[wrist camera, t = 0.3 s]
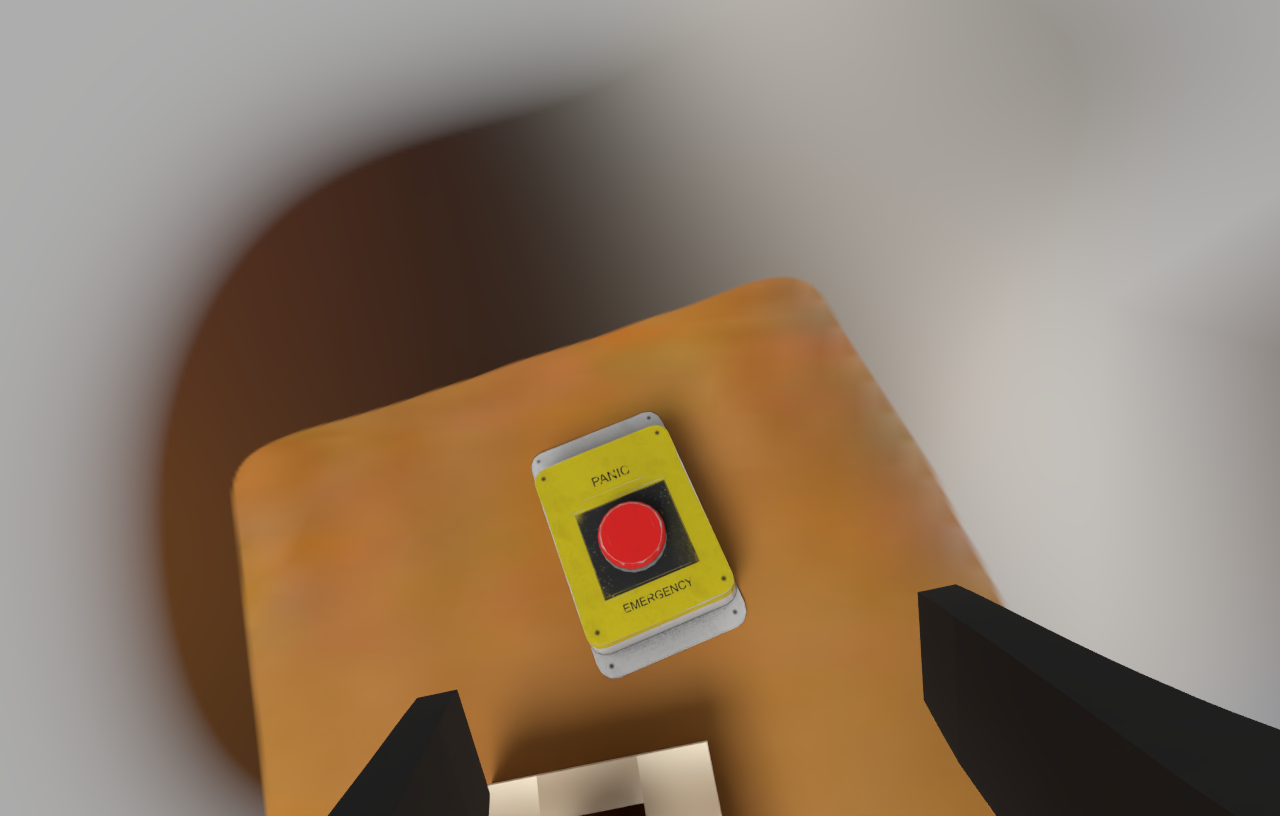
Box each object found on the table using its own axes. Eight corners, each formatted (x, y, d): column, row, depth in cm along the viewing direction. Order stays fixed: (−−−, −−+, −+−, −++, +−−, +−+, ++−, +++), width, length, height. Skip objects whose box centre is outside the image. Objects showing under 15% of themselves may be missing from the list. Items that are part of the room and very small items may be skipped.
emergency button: (592, 680, 34) (511, 436, 40) (604, 685, 38) (529, 461, 44) (756, 609, 35) (651, 381, 41) (752, 621, 39) (656, 411, 45)
